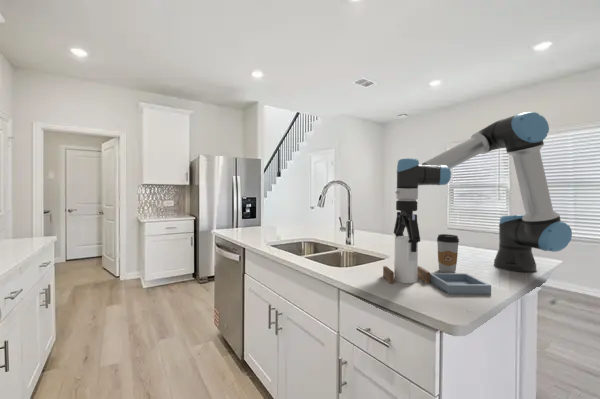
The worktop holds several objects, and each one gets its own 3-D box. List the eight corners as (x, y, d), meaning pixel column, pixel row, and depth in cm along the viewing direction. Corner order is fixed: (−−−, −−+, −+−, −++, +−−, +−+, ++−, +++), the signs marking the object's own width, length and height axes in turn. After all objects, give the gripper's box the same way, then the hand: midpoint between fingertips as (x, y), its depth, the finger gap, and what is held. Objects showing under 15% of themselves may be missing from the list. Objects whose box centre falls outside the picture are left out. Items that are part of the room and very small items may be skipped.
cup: (414, 284, 107) (415, 240, 106) (391, 280, 111) (392, 238, 111) (419, 278, 114) (419, 237, 113) (397, 275, 118) (397, 235, 118)
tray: (466, 281, 111) (466, 273, 111) (491, 294, 97) (491, 285, 97) (429, 281, 110) (429, 273, 110) (448, 294, 96) (448, 285, 96)
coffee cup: (436, 272, 122) (437, 236, 122) (435, 267, 130) (436, 233, 130) (459, 274, 119) (460, 237, 119) (457, 269, 127) (457, 234, 126)
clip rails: (419, 276, 117) (419, 266, 117) (429, 283, 108) (430, 272, 108) (383, 276, 117) (383, 266, 117) (390, 283, 108) (390, 272, 108)
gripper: (386, 199, 124) (385, 249, 124) (409, 201, 99) (407, 264, 100) (404, 199, 124) (403, 250, 125) (431, 201, 99) (430, 264, 100)
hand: (405, 256), depth 112 cm, fingers open, 13 cm apart
